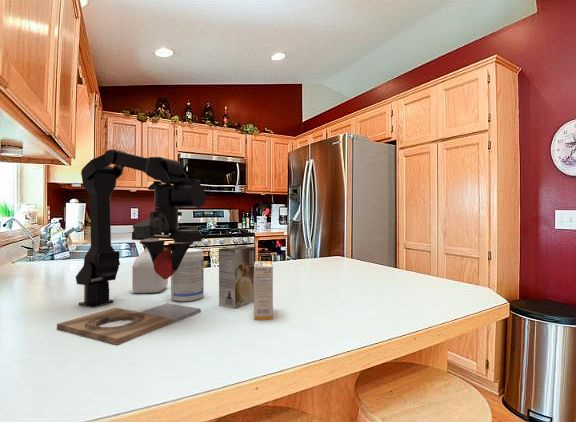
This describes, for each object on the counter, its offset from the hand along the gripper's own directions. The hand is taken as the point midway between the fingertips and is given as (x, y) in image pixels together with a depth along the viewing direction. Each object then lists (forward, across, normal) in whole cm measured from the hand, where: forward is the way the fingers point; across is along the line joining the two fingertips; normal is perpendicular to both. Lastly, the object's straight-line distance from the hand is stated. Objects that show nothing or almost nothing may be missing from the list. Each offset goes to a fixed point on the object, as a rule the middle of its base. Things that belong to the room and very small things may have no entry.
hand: (165, 269), depth 82 cm
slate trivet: (+12, 0, 0) cm, 12 cm away
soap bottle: (+12, -25, +17) cm, 32 cm away
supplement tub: (+12, -7, +15) cm, 20 cm away
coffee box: (+12, +10, +17) cm, 23 cm away
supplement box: (+12, +22, +11) cm, 27 cm away
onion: (+3, 0, 0) cm, 3 cm away
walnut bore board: (+12, -4, -11) cm, 16 cm away
